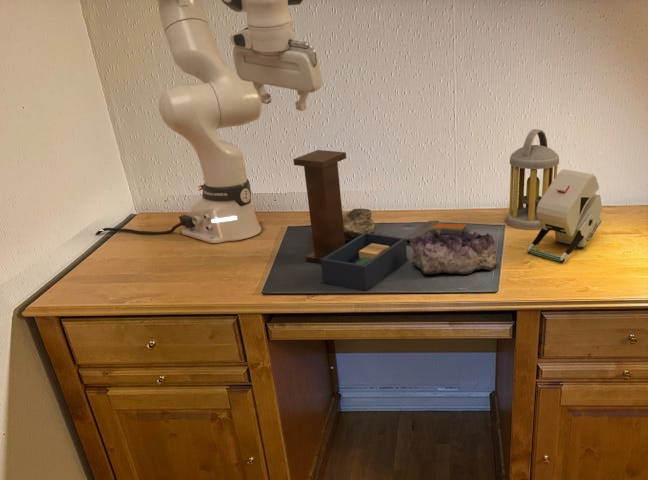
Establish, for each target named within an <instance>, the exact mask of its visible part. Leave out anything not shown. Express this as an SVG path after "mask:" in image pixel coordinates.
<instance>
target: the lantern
mask: <svg viewBox="0 0 648 480" xmlns="http://www.w3.org/2000/svg"><path fill="white" fill-rule="evenodd" d="M536 136H538V141H539V144H533V142H534V140H535V137H536ZM509 164H510V176H509V177H510V179H509V208H508V209H509V210H508V213H507V214H506V216H505V223H507V225H508V226H511V227H513V228H516V229H520V230H521V229H522V230H541V229H542V226H541V224H540V221H539V219H538V217H537V212H536V210H537V205H538V203H539V201H540V200H541V198H542V197H543V195H544V194H545V192H546V191H547V189H548V188H549V186H550V185H551V183H552V182H553V180H554V179H555V177H556V176H557V175H558V167H559V165H560V156H559V154H558V153H557V152H556V151H555V150H553V149H552V148H550V147H549V146H548V139H547V136H546V133H545V132H544V130H542V129H537V128H533V129H531V130H530V131H529V132H528V133H527V135H526V137H525V140H524V142H523V146H522V147H520V148H517V149H516V150H515V151H514V152H513V153H511V154H510V157H509ZM526 170H530V171H529V177H527V180H525V179H526V178H525V177H526ZM538 170H542V185H541V186H542V187H541V195H540V184H541V179H540V178H539V177H538ZM525 181H526V189H525ZM525 190H526V191H525ZM525 194H526V195H525ZM524 205H525V207H524Z"/></svg>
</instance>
